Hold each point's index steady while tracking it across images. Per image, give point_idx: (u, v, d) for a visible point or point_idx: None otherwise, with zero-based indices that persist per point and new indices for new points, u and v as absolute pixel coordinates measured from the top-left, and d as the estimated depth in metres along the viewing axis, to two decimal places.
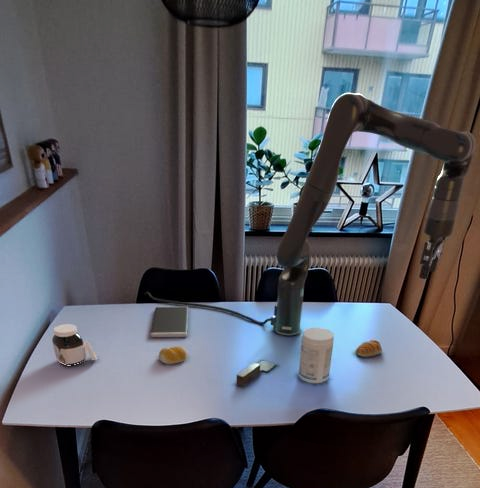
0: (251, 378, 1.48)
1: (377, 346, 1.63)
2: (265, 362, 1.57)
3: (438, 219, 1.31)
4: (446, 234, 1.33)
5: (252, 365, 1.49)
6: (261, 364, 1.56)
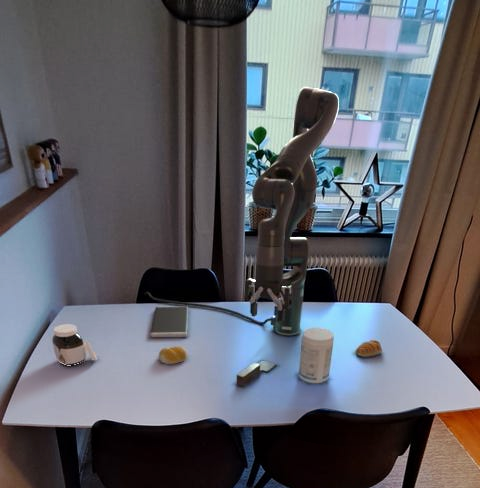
0: (251, 378, 1.48)
1: (377, 346, 1.63)
2: (265, 362, 1.57)
3: None
4: (256, 277, 1.31)
5: (252, 365, 1.49)
6: (261, 364, 1.56)
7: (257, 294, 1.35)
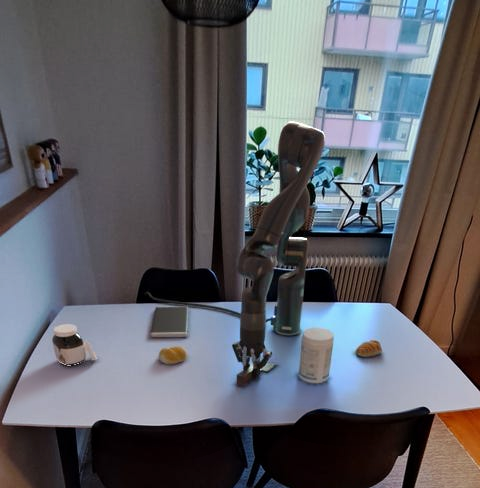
0: (251, 378, 1.48)
1: (377, 346, 1.63)
2: None
3: None
4: (240, 338, 1.41)
5: (252, 365, 1.49)
6: None
7: (244, 354, 1.44)
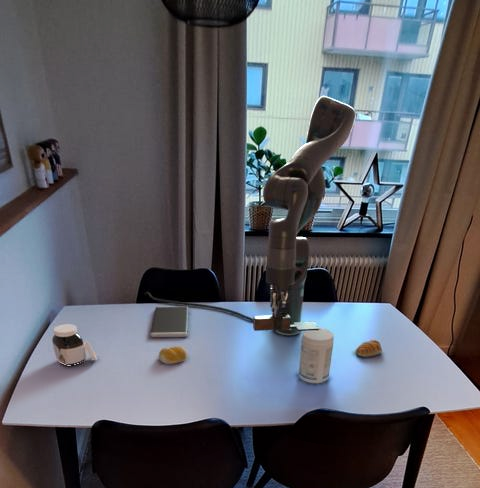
0: (271, 327, 1.32)
1: (377, 346, 1.63)
2: (312, 323, 1.35)
3: None
4: None
5: None
6: (305, 323, 1.35)
7: (271, 298, 1.30)
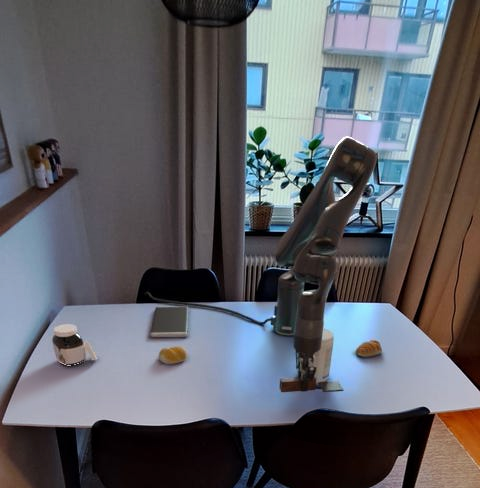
0: (297, 389, 1.35)
1: (377, 346, 1.63)
2: (336, 383, 1.39)
3: None
4: None
5: None
6: (329, 383, 1.39)
7: (297, 361, 1.33)
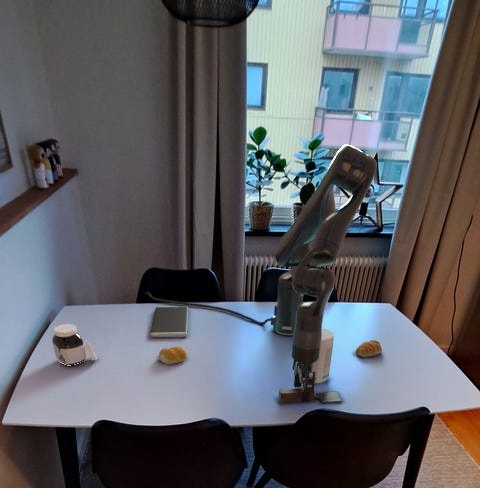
0: (296, 400, 1.38)
1: (377, 346, 1.63)
2: (334, 394, 1.41)
3: None
4: None
5: None
6: (328, 394, 1.41)
7: (295, 368, 1.36)
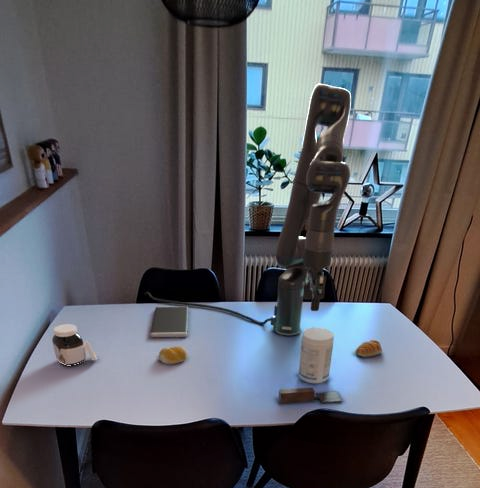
0: (296, 400, 1.38)
1: (377, 346, 1.63)
2: (334, 394, 1.41)
3: None
4: None
5: (306, 388, 1.38)
6: (328, 394, 1.41)
7: (306, 277, 1.35)
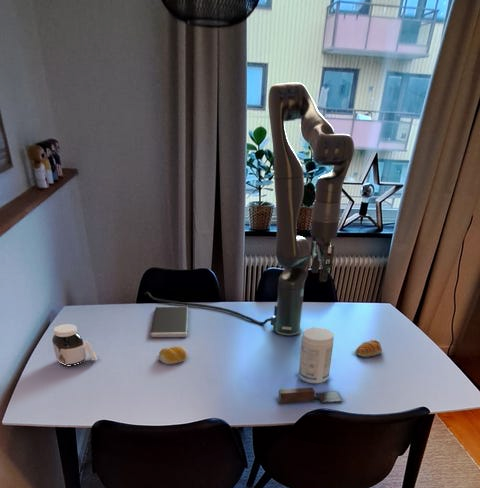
0: (296, 400, 1.38)
1: (377, 346, 1.63)
2: (334, 394, 1.41)
3: None
4: None
5: (306, 388, 1.38)
6: (328, 394, 1.41)
7: (313, 250, 1.41)
